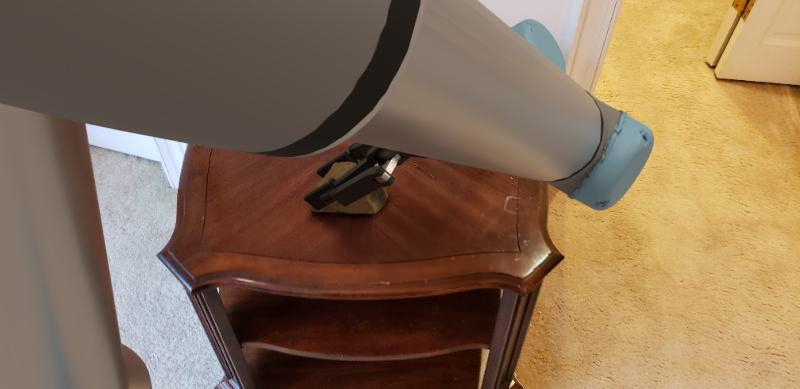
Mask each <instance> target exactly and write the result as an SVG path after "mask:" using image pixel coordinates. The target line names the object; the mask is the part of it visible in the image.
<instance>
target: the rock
mask: <svg viewBox="0 0 800 389" xmlns="http://www.w3.org/2000/svg"><path fill="white" fill-rule="evenodd" d="M355 165H357V164H356V163H352V162H341V163H337V162H336V163H334V164H333V165H332V168H331V169H330V171H329V172H328V173H327V174H326V175H325V177H324V178H322V179H321V181H320V182H317V184H316V185H315V187H314V190H315V189H317V188H318V187H320V186H322V185H323V184H325V183H327V182H328V181H329V179H330V178H332V179H333V178H334V179H336V180H337V179H339V178H340V177H341V176H343V175H344V174H345V173H346V172H348V171H349V170H350V169H351V168H353V167H354V166H355ZM387 192H388V191H387V189H386V188H385V187H381V188H379V189H377V190H376V191H374V192H372V193H370V194H368V195H366V196H365V197H363V198H361V199H359V200H357V201H355V202H354V203H352V204H350V205H348V206H346V207H344V206H343V205H342V204H340V203H339V202H338V201H337V200H336V201H335V202H333V203H331V204H329V205H328V206H326V207H324V208H322V209H321V210H319V211H318V210H316V209H315V208H314V207H312V206H311V205H310V211H311V212H315V213H345V214H355V215H358V214H367V215H373V214H374V215H375V214H377V213H378V212H379V211H380V210H381V209H382V208H383V207H384V206H385V205H386V203H387V201H388V198H389V194H388V193H387Z"/></svg>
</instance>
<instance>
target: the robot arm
mask: <svg viewBox="0 0 800 389" xmlns="http://www.w3.org/2000/svg"><path fill="white" fill-rule="evenodd" d="M565 62H566V61H565V58H564V55H563V52H562V50H561V48H560V46H559V44H558V41H557V40H556V39H555V37H554V36H553V34H552V33H551V32H550V31H549V29H548V28H547V27H546V26H545V25H544V24H542V23H541V22H540V21H538V20H537V19H533V18H525V19H523V20H521V21H519V22H518V23H516V24H514V25H513V26H510V25H509V24H507V23H506V22H505V21H504V20H502V19H501V18H500V17H499V16H497V15H496V14H495V13H494V12H493V11H492V10H490V9H489V8H488V7H487V6H486V5H484V3H482V2H481V1H480V0H0V389H153V385H152V384H153V383H152V379H151V375H150V372H149V369H148V367H147V365H146V363H145V362H144V360H143V359H142V358H141V357H140V355H138V353H136V352H135V351H134V350H133V349H132V348H130V347H129V346H128V345H127V344H123V343H122V339H121V338H122V337H121V332H120V325H119V320H118V314H117V307H116V300H115V295H114V288H113V283H112V276H111V271H110V270H111V269H110V265H109V264H110V263H109V258H108V252H107V247H106V240H105V239H106V238H105V234H104V227H103V221H102V214H101V209H100V208H101V207H100V204H99V196H98V192H97V185H96V179H95V172H94V165H93V160H92V154H91V147H90V142H89V136H88V129H87V125H90V126H96V127H99V128H105V129H110V130H114V131H120V132H125V133H130V134H134V135H135V134H136V135H140V136H146V137H151V138H156V139H161V140H166V141H167V140H168V141H172V142H178V143H182V144H188V145H193V146H199V147H203V148H210V149H217V150H225V151H231V152H232V151H234V152H239V153H240V152H241V153H245V154H247V153H248V154H253V155H262V156H267V157H277V158H286V159H294V158H298V159H299V158H306V157H310V156H315V155H318V154H321V153H324V152H326V151H328V150H331V149H334V148H335V147H337V146H339V145H340V144H342V143H344V142H346V141H347V142H352V144H351V143H350V145H349V146H348V147H347V151H346V150H345V151H344V152H342V153H341V154H339V155H338V156H336V157H335V158H333V159H331V160H330V161H328V162H327V163H325V164H324V165H322V166H320V167H319V168H317V170H316V172H315V173H316V175H318V176H319V177H320V178H322V179H323V178H324V177H325V175H326V174H327V173H328V172H329V171H330V169H331V168H332V165H333V164H334V163H336V162H337V163H341V162H352V163H356V164H357V165H355V166H354V167H353V168H351V169H350V170H349V171H348V172H346V173H345V174H344V175H343V176H341V177H340V178H339V179H337V180H336V179H334V178H333V179H332V178H330V179H329V181H328V182H327V183H325V184H323V185H322V186H320V187H318V188H317V189H315V188H314V190H312V191H310V192H309V193H307V194H306V195H304V197H303V201H305V202H306V203H307V204H308V205H310V207H311V206H312V207H314V208H315V209H316V210H318V211H319V210H321V209H322V208H324V207H326V206H328V205H329V204H331V203H333V202H335V201H336V200H337V201H338V202H339V203H340V204H342V205H343V206H344V207H346V206H348V205H350V204H352V203H354V202H355V201H357V200H359V199H361V198H363V197H365V196H366V195H368V194H370V193H372V192H374V191H376V190H377V189H379V188H381V187H384V188H385V187H391V186H392V185H393V184H394V182H395V181H396V178H395V177H394V176H393V175H392V173H393V172H394V171H395V168H396V167H399V166H402V165H403V164H404V163H405V162H406V161H408V160H409V159H410V158H419V159H434V160H438V161H442V162H447V163H451V164H457V165H461V166H466V167H471V168H475V169H480V170H485V171H489V172H494V173H500V174H504V175H507V176H508V175H509V176H513V177H518V178H522V179H526V180H527V179H528V180H532V181H537V182H541V183H545V184H548V185H550V186H552V187H554V188H556V189H557V190H558V191H560V192H561V193H563V194H565V195H566V197H567V198H568V199H570V200H576V201H578V202H579V203H581V204H583V205H585V206H586V207H588V208H590V209H592V210H594V211H598V212H603V211H605V210H606V211H607V210H609V209H611V208H612V207H614V206H615V205H616V204H618V202H620V201H621V199H622V198H623V197H624V196H625V195H626V194H627V192H628V191H629V190H630V189H631V187H632V186H633V185H634V183H635V182H636V180H637V179H638V177H639V176H640V174H641V172H642V171H643V169H644V168H645V166H646V165H647V162H648V160H649V158H650V156H651V154H652V151H653V149H654V144H655V135H654V132H653V131H652V129H651V128H650V127H649V126H648V125H646V124H644V123H643V122H640V121H639V120H637V119H636V118H634V117H632V116H630V115H629V114H628V112H627V111H625V110H622V109H616V108H615V107H613V106H611V105H609V104H608V103H605V102H603V101H601V100H600V99H598V98H596V97H595V96H594V95H593V94H592V93H591V92H589V91H588V90H586V89H585V88H584V87H582V86H581V85H580V84H579V83H578V82H577V81H576V80H574V79H573V78H572V77H571V76H570V75H568V74H567V73H566V71H567V70H566V63H565Z"/></svg>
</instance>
